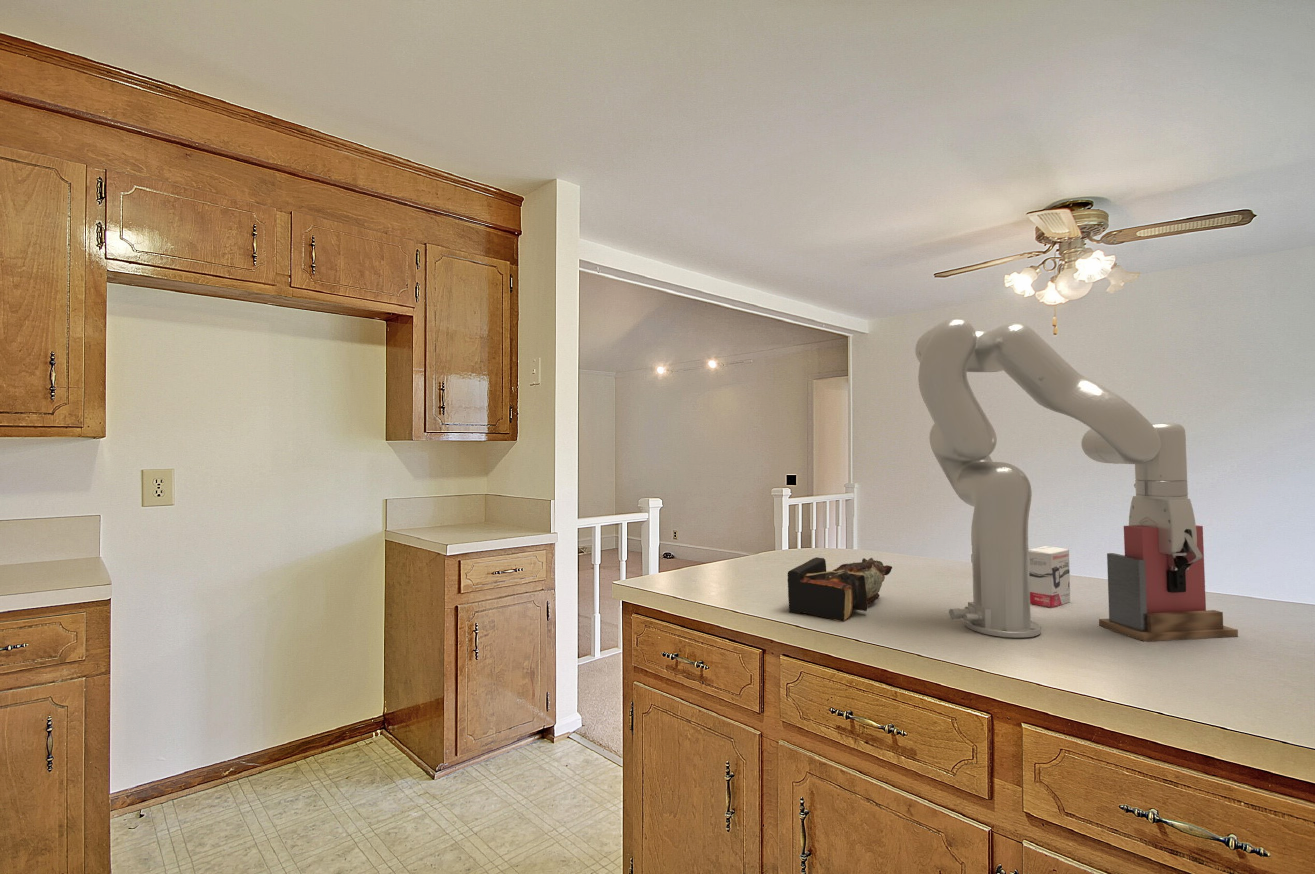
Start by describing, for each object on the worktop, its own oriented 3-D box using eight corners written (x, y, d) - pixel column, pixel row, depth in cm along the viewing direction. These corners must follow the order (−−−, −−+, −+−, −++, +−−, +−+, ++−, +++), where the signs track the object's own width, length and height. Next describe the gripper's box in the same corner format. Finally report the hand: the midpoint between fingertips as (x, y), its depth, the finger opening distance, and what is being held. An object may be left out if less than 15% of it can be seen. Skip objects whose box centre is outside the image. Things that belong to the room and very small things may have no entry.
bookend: (784, 571, 133) (831, 543, 152) (789, 621, 133) (835, 587, 153) (851, 577, 124) (892, 546, 143) (856, 631, 124) (896, 593, 144)
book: (1145, 617, 113) (1142, 528, 113) (1126, 611, 117) (1123, 525, 117) (1206, 613, 114) (1202, 526, 114) (1185, 608, 118) (1182, 523, 118)
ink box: (1052, 608, 132) (1051, 552, 132) (1028, 603, 136) (1026, 549, 136) (1071, 602, 137) (1069, 548, 137) (1047, 597, 141) (1045, 545, 141)
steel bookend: (1141, 638, 111) (1138, 559, 111) (1109, 627, 118) (1106, 553, 118) (1147, 638, 111) (1145, 559, 111) (1115, 627, 118) (1112, 552, 118)
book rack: (1144, 641, 109) (1143, 617, 109) (1099, 625, 119) (1098, 603, 119) (1238, 636, 111) (1237, 612, 111) (1185, 620, 121) (1184, 599, 121)
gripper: (1105, 487, 123) (1109, 580, 123) (1184, 493, 107) (1188, 601, 107) (1140, 486, 124) (1144, 578, 124) (1224, 492, 108) (1228, 599, 107)
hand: (1164, 588), depth 115 cm, fingers closed on book, 4 cm apart
